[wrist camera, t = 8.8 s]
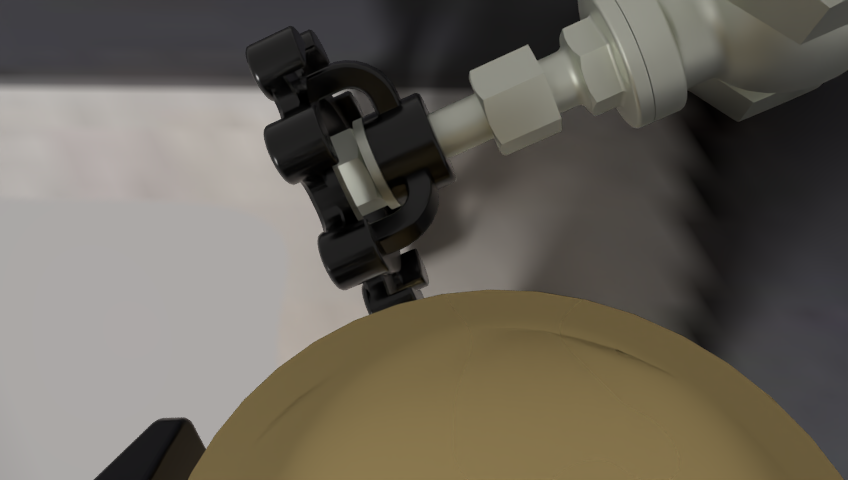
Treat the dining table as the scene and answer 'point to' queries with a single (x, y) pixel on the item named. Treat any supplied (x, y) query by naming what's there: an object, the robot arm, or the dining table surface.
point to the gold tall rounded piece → (509, 402)
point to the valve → (516, 110)
